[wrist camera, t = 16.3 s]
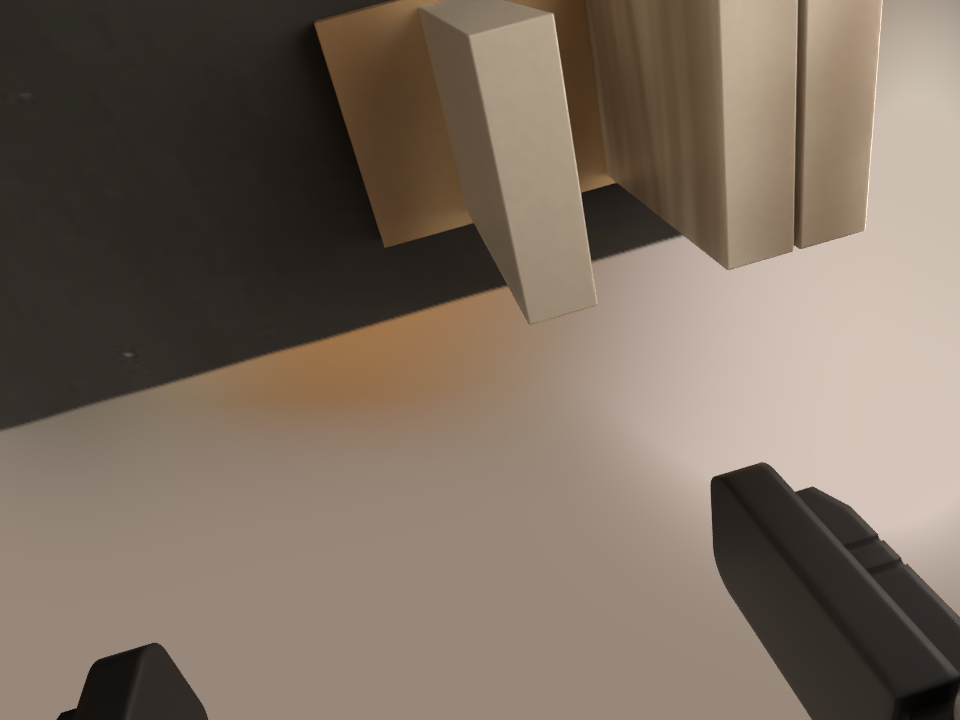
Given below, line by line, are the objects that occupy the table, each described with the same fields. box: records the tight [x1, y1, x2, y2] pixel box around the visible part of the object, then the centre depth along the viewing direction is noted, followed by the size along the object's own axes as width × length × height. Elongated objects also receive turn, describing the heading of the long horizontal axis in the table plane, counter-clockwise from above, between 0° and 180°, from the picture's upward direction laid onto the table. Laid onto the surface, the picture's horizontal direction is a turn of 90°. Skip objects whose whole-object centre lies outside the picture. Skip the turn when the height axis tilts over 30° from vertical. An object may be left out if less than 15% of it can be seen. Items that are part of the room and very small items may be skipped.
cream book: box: [418, 0, 597, 324], centre depth 26 cm, size 2×9×12 cm, turn 13°
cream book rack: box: [314, 0, 883, 270], centre depth 27 cm, size 18×10×13 cm, turn 103°
